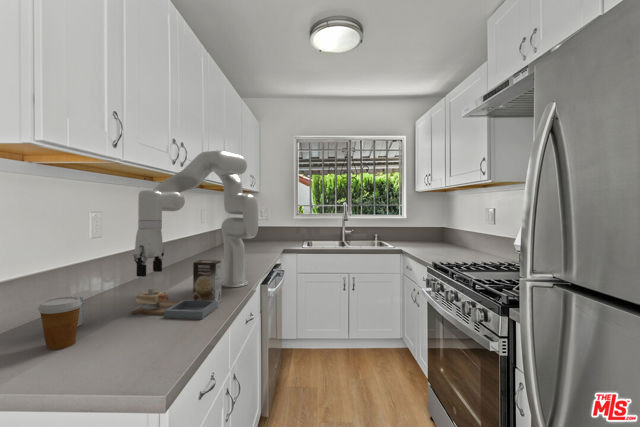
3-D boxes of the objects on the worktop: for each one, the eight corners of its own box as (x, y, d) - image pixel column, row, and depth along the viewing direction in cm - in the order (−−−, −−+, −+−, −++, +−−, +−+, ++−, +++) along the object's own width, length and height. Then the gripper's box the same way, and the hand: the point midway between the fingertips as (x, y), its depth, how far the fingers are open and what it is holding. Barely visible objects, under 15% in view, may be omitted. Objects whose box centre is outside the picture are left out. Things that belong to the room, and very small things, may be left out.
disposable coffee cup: (28, 352, 90) (27, 305, 90) (58, 338, 100) (57, 295, 100) (64, 352, 90) (63, 306, 90) (90, 338, 99) (90, 296, 99)
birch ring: (147, 297, 129) (147, 291, 129) (171, 298, 128) (171, 291, 128) (136, 303, 122) (135, 296, 122) (160, 304, 122) (160, 296, 121)
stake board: (154, 302, 136) (154, 283, 135) (184, 303, 134) (184, 284, 134) (131, 314, 122) (131, 292, 121) (164, 315, 120) (164, 293, 120)
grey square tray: (183, 306, 131) (183, 299, 131) (218, 307, 129) (218, 300, 129) (164, 317, 118) (164, 310, 118) (202, 319, 116) (202, 311, 116)
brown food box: (192, 304, 133) (191, 262, 133) (199, 300, 140) (199, 259, 139) (215, 305, 132) (215, 262, 132) (222, 300, 139) (221, 260, 138)
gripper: (154, 224, 134) (153, 269, 134) (124, 226, 116) (123, 278, 117) (172, 224, 133) (172, 270, 133) (145, 226, 116) (145, 278, 116)
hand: (149, 273), depth 125 cm, fingers open, 9 cm apart
